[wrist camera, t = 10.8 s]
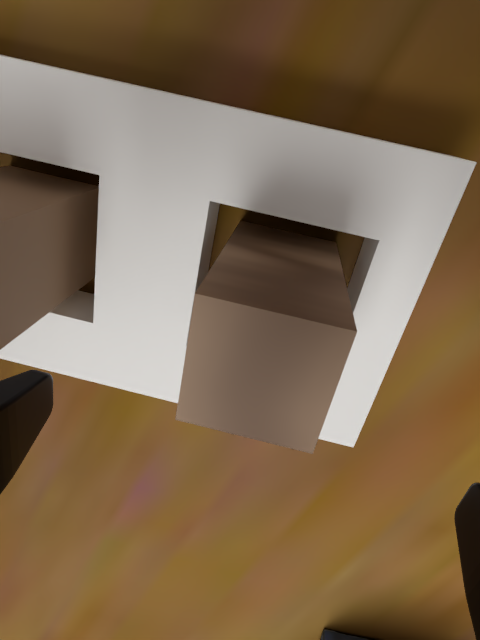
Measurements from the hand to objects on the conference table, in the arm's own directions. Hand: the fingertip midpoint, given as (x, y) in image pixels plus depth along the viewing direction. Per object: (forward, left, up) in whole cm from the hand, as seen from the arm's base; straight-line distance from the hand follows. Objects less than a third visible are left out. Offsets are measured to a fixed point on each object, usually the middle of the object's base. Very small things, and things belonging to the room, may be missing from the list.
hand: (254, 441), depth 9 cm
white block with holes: (-5, 0, -10) cm, 11 cm away
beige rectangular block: (0, 0, -10) cm, 10 cm away
